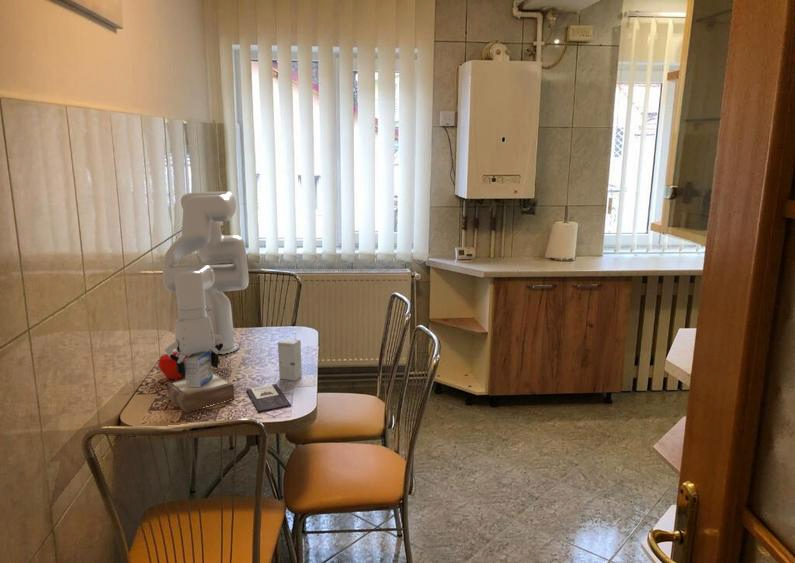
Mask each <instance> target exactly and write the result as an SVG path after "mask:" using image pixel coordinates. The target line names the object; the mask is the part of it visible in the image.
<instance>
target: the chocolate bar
mask: <svg viewBox="0 0 795 563" xmlns="http://www.w3.org/2000/svg"><path fill="white" fill-rule="evenodd" d="M247 392H248V393H247ZM246 393H247V395H248V396H249V398H250V400H251V399H252V400H251V402H252V401H253V402H252V404H253V405H254V407H255V409H256V411H257V412H258V413H264V412H270V411H275V410H279V409H284V407H285V408H289V407H288V406H290V407H292V404H291V403H290V401H289V400H288V399H287V397H286V396H285V394H284V393H283V391H282V390H281V389H280V387H279V386H278V384H276V383H275V384H268V385H263V386H258V387H252V388H247V389H246Z"/></svg>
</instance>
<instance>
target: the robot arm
mask: <svg viewBox="0 0 795 563" xmlns="http://www.w3.org/2000/svg"><path fill="white" fill-rule="evenodd" d="M180 204H181V205H180V206H181V208H182V224H181V235H180V237H179V238H177V239H175V241H174V242H173V243H171V245H170V246H169V248H168V249H167V251H166V253H165V255H164V257H163V263H162V264H163V266H162V274H161V275H162V284H163V287H164V289H165V290H166V291H168V292H172V293H175V295H176V302H177V312H178V318H177V319H175V329H174V330H175V331H174V342H172V343H171V344H170V345H168V346H167V347H166V348H165V349H164V352H165V353H166V354H167V355H168V356H169V357H170V358H171V359H173V360H174V361H176V366H177V372H178V373H179V374H180V375H181V376H183V377H185V368H184V363H183V362H182V360H183V359H184V357H185V356H186V355H187V356H189V355H191V354H194V353H198V352H203V351H207V350H208V351H210V352H211V363H212V368H216V369H217V368H219V363H220V359H219V355H218V354H222V355H227V354H226V353H228V354H231V353H230V352H232V353H234V352H233V351H235V350H237V349H238V348H239V349H240V345H239V343H237V342H235V335H234V324H233V312H232V304H231V300H230V299H229V297H228V296H227V295H226V294H225V293H224V292H232V291H241V290H242V291H243V290H246V289H247V288H248V286H249V283H250V282H249V281H250V279H249V277H250V276H249V268H248V258H247V250H246V244H245V241H244V239H243V237H241V236H240V235H236V234H233V235H231V234H230V235H224V234H222V226H221V222H228V221H230V220H231V219H232V218H233V216H234V215H235V213H236V209H237V202H236V198H235V196H234V194H233V193H232V192H231V191H197V192H196V191H195V192H190V193H186V194H184V195H182V196H181V199H180ZM197 251H198V255H199V259H200V260H201V261H202V262H203V263H206V264H186V265H185V264H184V265H177V264H178V263H179V261H181V259H183V258H185V257H187V256H188V255H190V254H192V253H195V252H197ZM221 263H222V264H221ZM223 263H231V264H223ZM207 264H210V265H207ZM211 264H213V265H211ZM215 264H216V265H215ZM239 349H238V350H239ZM174 350H176V351H175V352H178V353H177V355H176V356H175V355H174V354H173V353H174V352H173V351H174ZM238 350H237V351H238ZM235 352H236V351H235Z"/></svg>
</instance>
